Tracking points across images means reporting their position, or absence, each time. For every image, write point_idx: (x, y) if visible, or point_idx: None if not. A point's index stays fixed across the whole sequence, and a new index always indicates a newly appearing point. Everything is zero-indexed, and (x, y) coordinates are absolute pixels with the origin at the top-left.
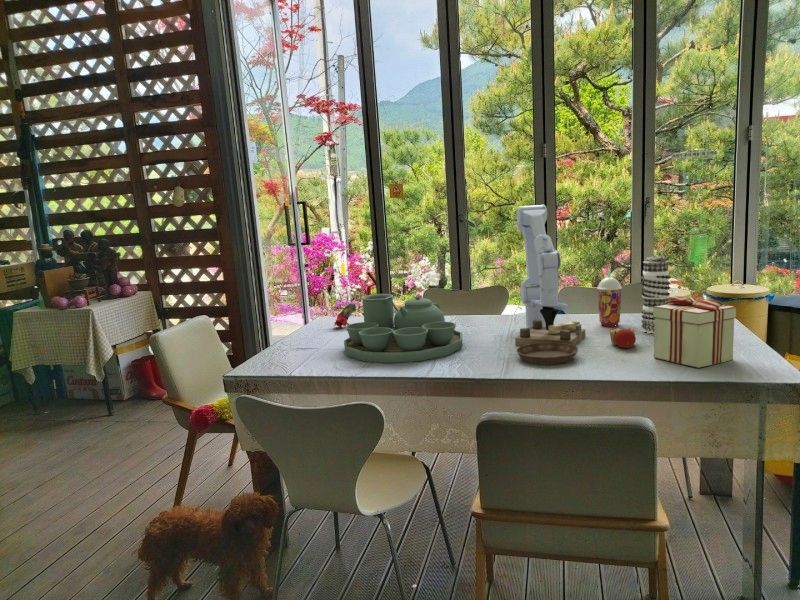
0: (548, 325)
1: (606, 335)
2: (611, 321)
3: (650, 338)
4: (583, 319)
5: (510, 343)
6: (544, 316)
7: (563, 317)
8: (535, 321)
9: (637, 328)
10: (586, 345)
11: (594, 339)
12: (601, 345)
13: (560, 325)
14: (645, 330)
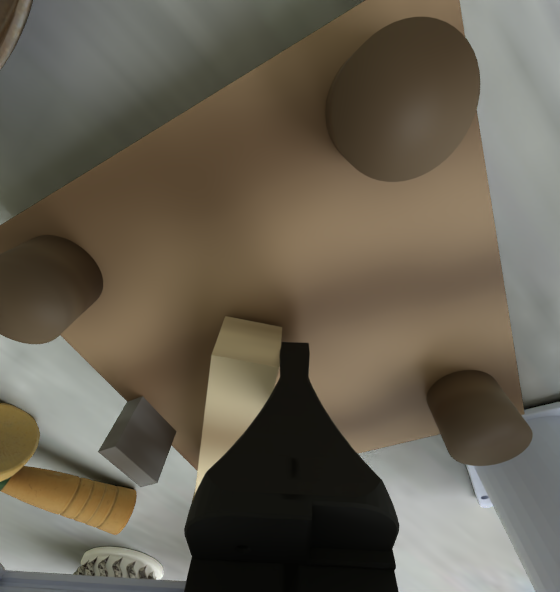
0: (280, 369)
1: (176, 489)
2: None
3: (47, 515)
4: (418, 586)
5: (509, 16)
6: (309, 431)
7: (506, 584)
8: (495, 426)
9: (188, 569)
10: (64, 340)
11: None
12: (28, 377)
13: (208, 414)
14: (127, 559)
